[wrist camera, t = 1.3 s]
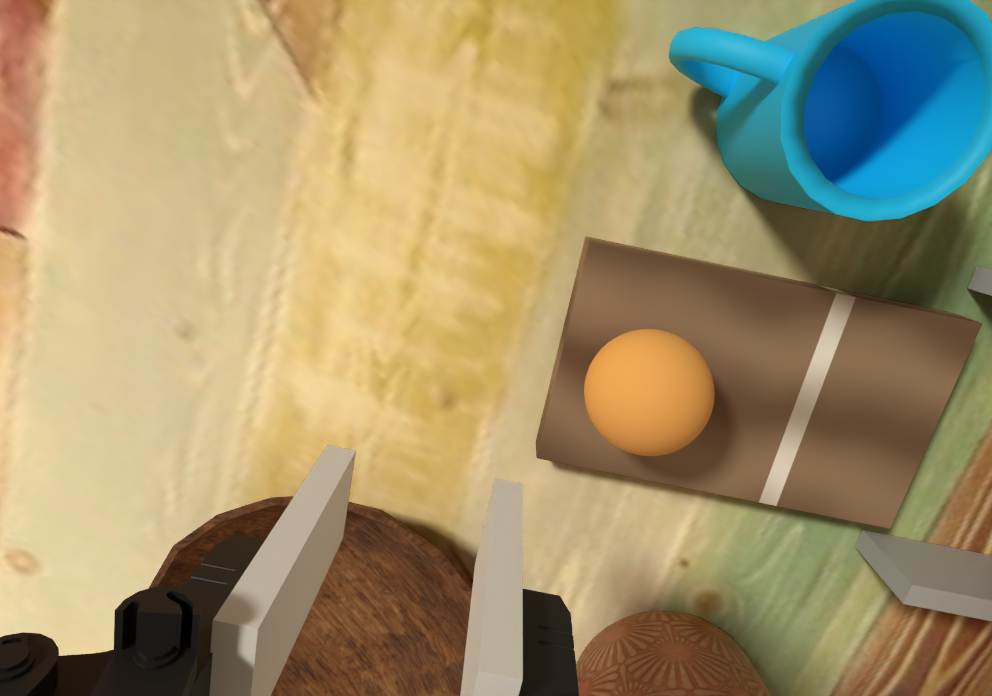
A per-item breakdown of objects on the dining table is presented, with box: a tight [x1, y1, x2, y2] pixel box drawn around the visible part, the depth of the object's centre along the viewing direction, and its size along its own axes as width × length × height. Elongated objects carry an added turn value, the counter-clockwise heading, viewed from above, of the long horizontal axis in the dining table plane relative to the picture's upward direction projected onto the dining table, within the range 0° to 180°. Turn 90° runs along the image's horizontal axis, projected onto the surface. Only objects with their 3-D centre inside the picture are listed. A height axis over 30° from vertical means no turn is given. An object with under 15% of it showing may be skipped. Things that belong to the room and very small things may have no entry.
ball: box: [584, 329, 715, 456], centre depth 30 cm, size 6×6×6 cm
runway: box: [536, 237, 982, 529], centre depth 34 cm, size 12×20×2 cm, turn 79°
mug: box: [669, 0, 992, 221], centre depth 27 cm, size 12×8×8 cm
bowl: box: [149, 496, 472, 696], centre depth 38 cm, size 20×22×5 cm
